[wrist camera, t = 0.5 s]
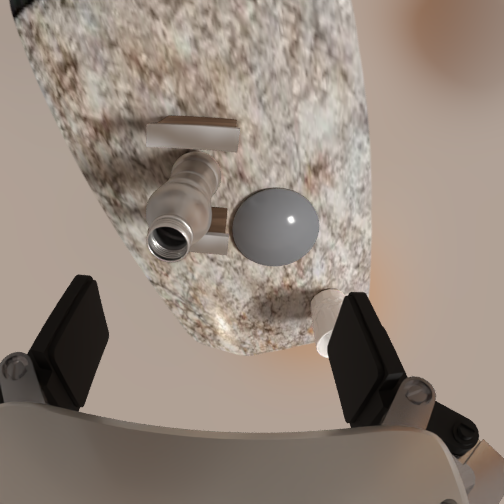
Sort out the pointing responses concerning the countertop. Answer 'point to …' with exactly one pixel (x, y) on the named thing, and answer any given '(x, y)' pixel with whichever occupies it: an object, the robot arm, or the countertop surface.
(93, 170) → the countertop surface
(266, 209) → the coaster
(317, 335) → the white cup
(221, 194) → the countertop surface
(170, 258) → the grey bulging hollow cylinder
